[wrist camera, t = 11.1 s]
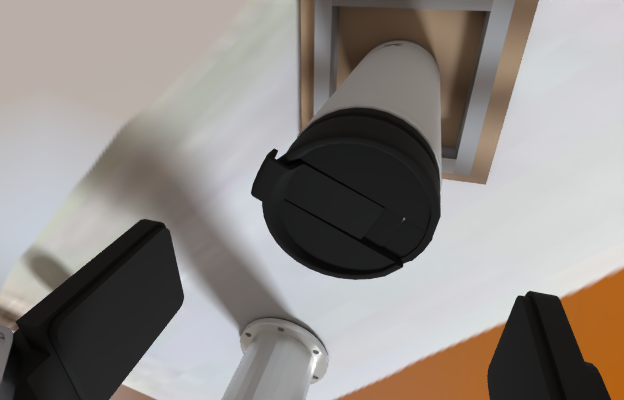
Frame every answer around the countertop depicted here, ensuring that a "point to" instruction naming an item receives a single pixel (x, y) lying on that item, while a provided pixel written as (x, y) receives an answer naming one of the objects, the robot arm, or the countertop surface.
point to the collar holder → (447, 52)
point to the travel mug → (362, 170)
